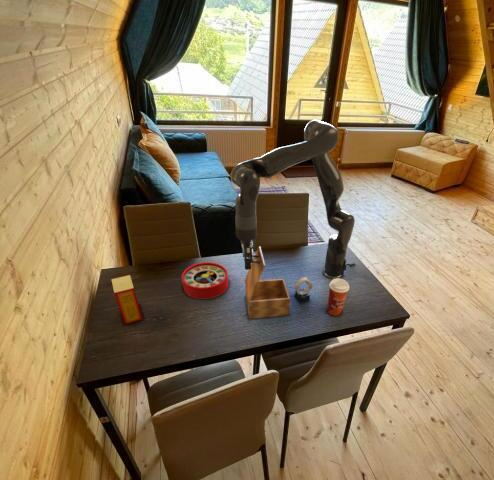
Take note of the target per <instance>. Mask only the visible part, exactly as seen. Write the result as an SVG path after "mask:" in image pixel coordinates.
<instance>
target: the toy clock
mask: <svg viewBox="0 0 494 480" xmlns="http://www.w3.org/2000/svg"><path fill="white" fill-rule="evenodd" d="M181 282H182V287H183V291H184V293H185V294H186V295H187V296H189V297H191V298H194V299H198V300H199V299H200V300H209V299H213V298H217V297H219V296H220V295H223V294H224V293H225V292H226V291H227V289H228V287H229V274H228V270H227V268H226V267H225V266H223V265H221V264H220V263H217V262H210V261H209V262H208V261H206V262H205V261H204V262H198V263H194V264H191V265H190V266H188V267H187V268H185V269H184V271H183V272H182V274H181Z"/></svg>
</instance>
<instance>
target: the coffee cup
mask: <svg viewBox="0 0 494 480" xmlns="http://www.w3.org/2000/svg"><path fill="white" fill-rule="evenodd" d="M328 286H329V291H328V299H327V300H328V301H327V313H328V314H329V315H330V316H335V317H337V316H339V315H341V314H342V311H343V308H344V305H345V302H346V299H347V295H348V291H350V284H349V282H348V281H347V280H345V279H344V278H341V277H340V278H336V279H332V280H331V281H330V282H329V284H328Z"/></svg>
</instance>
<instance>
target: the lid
mask: <svg viewBox="0 0 494 480" xmlns="http://www.w3.org/2000/svg"><path fill="white" fill-rule="evenodd" d="M262 250H263V249H262V246H260V245H258V247H257V249H256V252H255V254H253V253H252V262H251V269H248V271H247V274H246V276H245V278H244V285H245V293H246V292H247V298H248V301H249V302H250V300H251V298H252V295H253V293H254V291H255V289H256V286H257V284H258V282H259V280H261V277H262V275H263V272H264V271H265V268H266V261H265V257H264V254H263V251H262ZM247 258H250V257H247Z"/></svg>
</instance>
